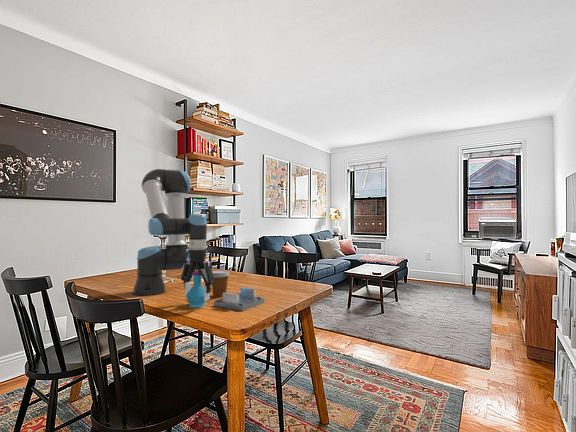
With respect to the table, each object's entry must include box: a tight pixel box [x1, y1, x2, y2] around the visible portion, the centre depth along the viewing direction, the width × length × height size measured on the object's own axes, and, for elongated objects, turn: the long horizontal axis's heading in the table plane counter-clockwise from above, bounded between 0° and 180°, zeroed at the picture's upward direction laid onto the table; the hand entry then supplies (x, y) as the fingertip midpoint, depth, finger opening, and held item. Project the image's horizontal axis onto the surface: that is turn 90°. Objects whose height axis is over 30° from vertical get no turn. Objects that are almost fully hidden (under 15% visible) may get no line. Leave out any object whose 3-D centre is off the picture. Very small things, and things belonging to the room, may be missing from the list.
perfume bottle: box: [186, 270, 207, 308], centre depth 144 cm, size 9×9×15 cm
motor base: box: [213, 286, 265, 312], centre depth 146 cm, size 16×16×6 cm
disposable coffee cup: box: [211, 269, 230, 298], centre depth 161 cm, size 10×10×12 cm
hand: (197, 298), depth 144 cm, fingers open, 11 cm apart
